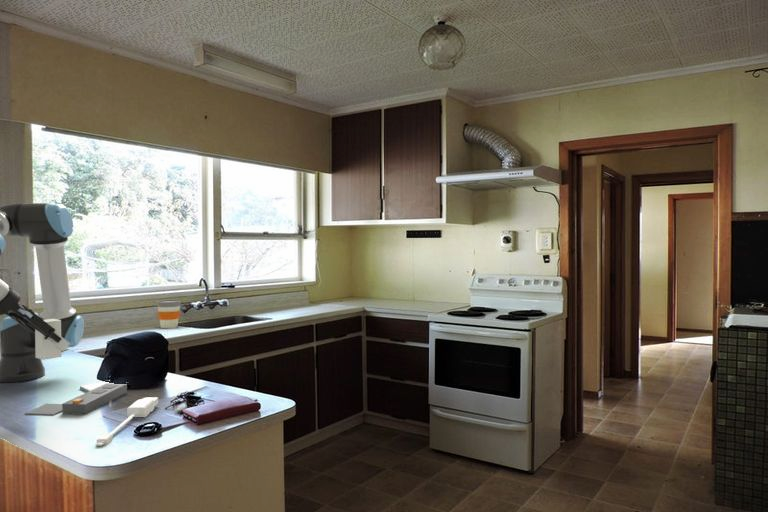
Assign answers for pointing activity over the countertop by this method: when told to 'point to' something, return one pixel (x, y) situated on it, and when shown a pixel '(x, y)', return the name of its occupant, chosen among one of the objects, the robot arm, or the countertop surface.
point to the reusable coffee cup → (168, 313)
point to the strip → (94, 399)
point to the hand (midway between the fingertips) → (61, 345)
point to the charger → (47, 342)
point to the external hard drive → (92, 386)
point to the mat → (46, 410)
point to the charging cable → (131, 416)
